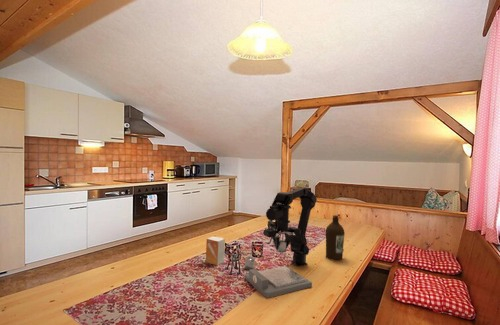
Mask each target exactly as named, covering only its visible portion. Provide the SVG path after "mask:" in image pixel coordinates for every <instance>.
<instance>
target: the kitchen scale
mask: <svg viewBox="0 0 500 325" xmlns="http://www.w3.org/2000/svg"><path fill="white" fill-rule="evenodd" d="M244 279H245V280H246V281H247V282H248V283H249V284H250V285H252V287H254V288H255V289H256V290H257V291H258V292H259V293H260V294H261V295H263V297H265V298H266V299H268V298H273V297H276V296H280V295H284V294H288V293H292V292H296V291H300V290H301V291H302V290H304V289H308V288H311V287H313V282H312V281H311V280H309V279H308V278H306V277H305V276H303V275H301V274H299V273H298V272H296V271H295V270H293V269H292V268H290V267H288V266H287V265H284V266H279V267H275V268H269V269H263V270H257V269H256V268H254V269H252V270H248V273H245V274H244Z"/></svg>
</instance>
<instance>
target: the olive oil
mask: <svg viewBox="0 0 500 325" xmlns="http://www.w3.org/2000/svg"><path fill="white" fill-rule="evenodd" d="M339 220H340V218H339V215H337V214H333V215H332V221H331V222H330V224H328V226H326V229H325V257H326V258H327V259H328V260H332V261H342V260H343V255H344V250H345V249H344V245H345V244H344V242H345V236H346V235H345V234H346V233H345V229H344V227H343V226H342V224H340V222H339Z"/></svg>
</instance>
